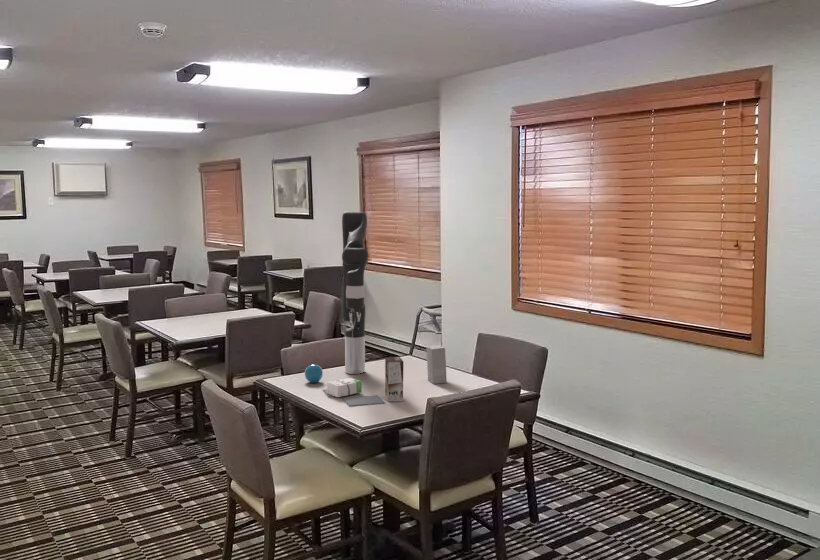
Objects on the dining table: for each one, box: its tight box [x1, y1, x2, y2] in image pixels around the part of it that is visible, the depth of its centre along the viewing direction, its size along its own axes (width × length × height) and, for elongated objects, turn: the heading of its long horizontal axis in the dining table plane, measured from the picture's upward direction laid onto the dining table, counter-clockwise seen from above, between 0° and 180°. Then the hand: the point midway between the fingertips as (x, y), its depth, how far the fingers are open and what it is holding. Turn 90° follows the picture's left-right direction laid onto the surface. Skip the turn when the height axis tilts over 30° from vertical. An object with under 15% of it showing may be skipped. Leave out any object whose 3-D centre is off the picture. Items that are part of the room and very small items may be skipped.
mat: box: [322, 388, 386, 407], centre depth 280 cm, size 26×20×1 cm
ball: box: [304, 364, 324, 384], centre depth 302 cm, size 8×8×8 cm
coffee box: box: [384, 356, 404, 402], centre depth 277 cm, size 9×6×16 cm
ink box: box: [326, 377, 363, 398], centre depth 284 cm, size 9×5×12 cm
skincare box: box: [425, 344, 448, 385], centre depth 304 cm, size 8×7×16 cm
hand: (355, 337), depth 286 cm, fingers closed
